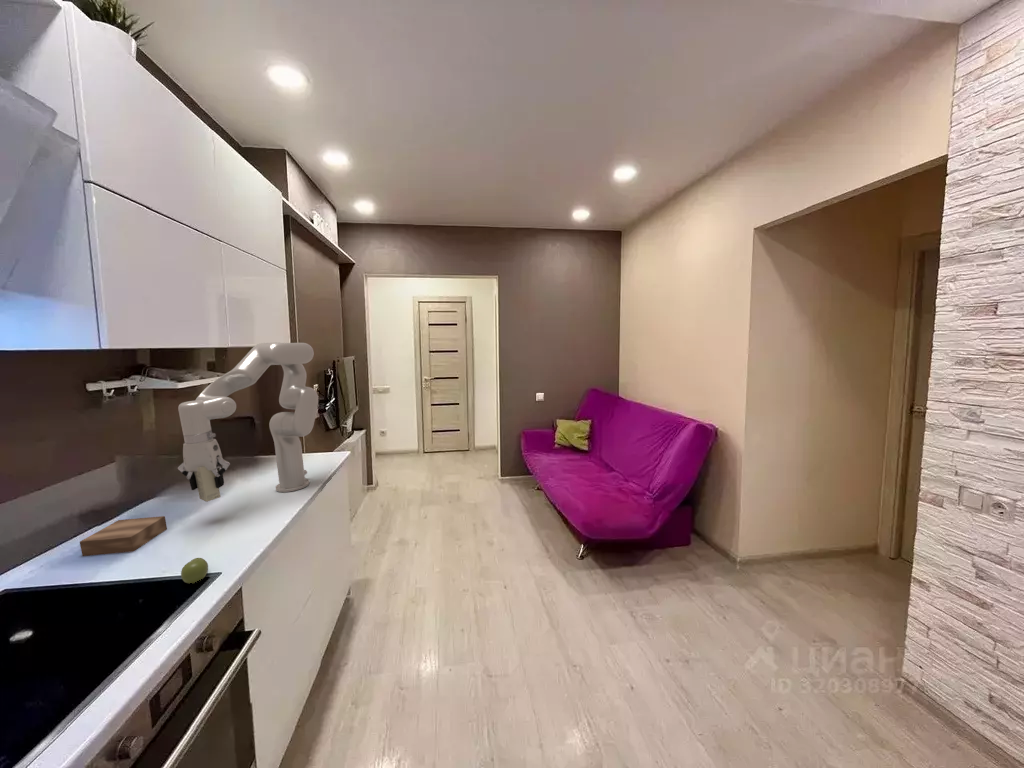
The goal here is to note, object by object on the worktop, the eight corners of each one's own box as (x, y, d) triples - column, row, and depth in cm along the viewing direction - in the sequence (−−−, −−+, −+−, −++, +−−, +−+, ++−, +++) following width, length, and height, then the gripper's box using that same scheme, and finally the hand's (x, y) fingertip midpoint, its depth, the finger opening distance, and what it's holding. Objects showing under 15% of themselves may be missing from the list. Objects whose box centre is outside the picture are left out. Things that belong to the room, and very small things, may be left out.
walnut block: (121, 534, 136) (118, 520, 135) (167, 530, 137) (164, 516, 136) (82, 557, 122) (79, 541, 121) (133, 552, 123) (131, 537, 123)
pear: (177, 568, 103) (183, 557, 111) (180, 589, 103) (186, 577, 111) (205, 561, 106) (208, 550, 114) (208, 581, 106) (211, 569, 114)
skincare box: (221, 497, 140) (215, 463, 138) (206, 502, 137) (199, 467, 134) (213, 493, 144) (207, 460, 142) (198, 498, 140) (192, 464, 138)
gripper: (232, 432, 141) (240, 481, 144) (179, 436, 140) (189, 485, 143) (218, 439, 133) (227, 490, 136) (162, 443, 132) (173, 494, 135)
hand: (208, 487), depth 139 cm, fingers closed on skincare box, 7 cm apart
